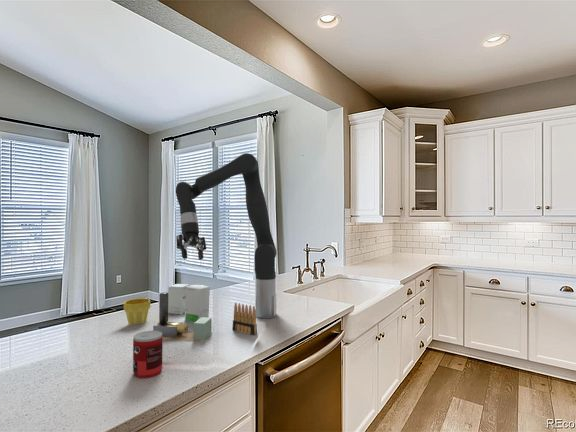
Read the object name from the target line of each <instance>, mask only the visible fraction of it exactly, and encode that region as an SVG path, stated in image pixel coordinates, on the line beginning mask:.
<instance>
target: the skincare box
mask: <svg viewBox="0 0 576 432" xmlns="http://www.w3.org/2000/svg"><path fill="white" fill-rule="evenodd" d="M210 291H211V287H210V286H207V285H202V284H196V283H195V284H191V285H189V286H187V287H186V301H185V312H184V321H185V322H190V323H191V322H192V323H194V322H196V321H197V320H198V319H200V318H201V317H208V318H210V317H209V316H210V315H209V313H210V293H211V292H210Z"/></svg>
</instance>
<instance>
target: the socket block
mask: <svg viewBox="0 0 576 432" xmlns="http://www.w3.org/2000/svg"><path fill="white" fill-rule="evenodd" d="M193 331H194V340H204V341H205V340H206V339H207V338H209V336H210V335H212V333H211V332H212V317H209V318H208V317H201V318H200V319H198V320H197V321H196V322H193Z"/></svg>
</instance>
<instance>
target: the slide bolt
mask: <svg viewBox="0 0 576 432" xmlns="http://www.w3.org/2000/svg"><path fill="white" fill-rule="evenodd" d="M158 296H159V298H158V300H159V302H158V303H159V305H158V309H159V311H158V312H159V315H158V316H159V317H158V320H159V321H158V323H157V324H156V325H161V326H177V333H187V331H189V324H188V323H183V324H180V323H168V322H169V313H168V292H166V291H165V292H160V293H159V295H158Z"/></svg>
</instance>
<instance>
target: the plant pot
mask: <svg viewBox="0 0 576 432" xmlns="http://www.w3.org/2000/svg"><path fill="white" fill-rule="evenodd" d="M150 308H151V300H150V298H145V297H143V298H142V297H141V298H140V297H139V298H132V299H129V300H125V301H123V311H124V312H125V314H126V319H127V323H128V325H129V326H131V325H138V324H139V325H140V324H144V323H146V322H147V320H148V315H149V309H150Z"/></svg>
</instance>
